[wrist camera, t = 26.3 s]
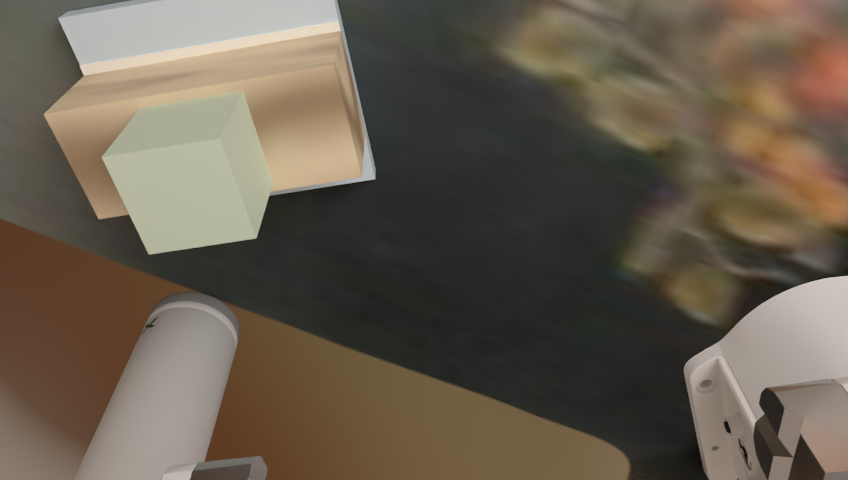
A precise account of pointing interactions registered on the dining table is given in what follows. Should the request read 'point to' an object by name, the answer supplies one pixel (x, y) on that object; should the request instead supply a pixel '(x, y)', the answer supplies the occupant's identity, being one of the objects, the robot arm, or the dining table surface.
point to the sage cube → (191, 173)
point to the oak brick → (215, 75)
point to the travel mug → (166, 392)
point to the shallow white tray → (199, 37)
